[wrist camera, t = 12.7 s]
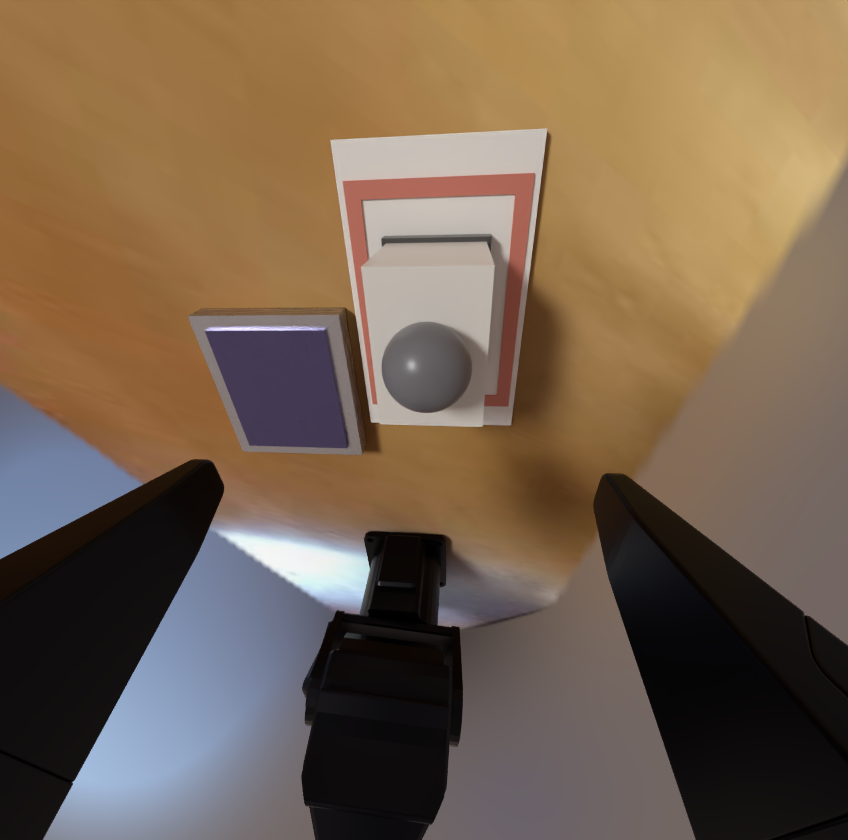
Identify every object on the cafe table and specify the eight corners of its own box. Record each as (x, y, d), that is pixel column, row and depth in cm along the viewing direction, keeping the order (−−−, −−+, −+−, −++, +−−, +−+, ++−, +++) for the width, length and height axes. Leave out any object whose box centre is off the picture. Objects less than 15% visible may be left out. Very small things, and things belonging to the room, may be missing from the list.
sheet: (510, 422, 22) (511, 426, 22) (371, 419, 23) (370, 423, 23) (545, 129, 14) (547, 128, 14) (332, 140, 15) (329, 139, 15)
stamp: (490, 233, 16) (510, 277, 9) (481, 371, 20) (490, 472, 13) (384, 235, 17) (330, 279, 10) (395, 370, 20) (362, 467, 14)
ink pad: (366, 443, 24) (361, 457, 23) (251, 440, 25) (241, 453, 24) (345, 307, 19) (337, 316, 18) (201, 308, 20) (184, 317, 18)
